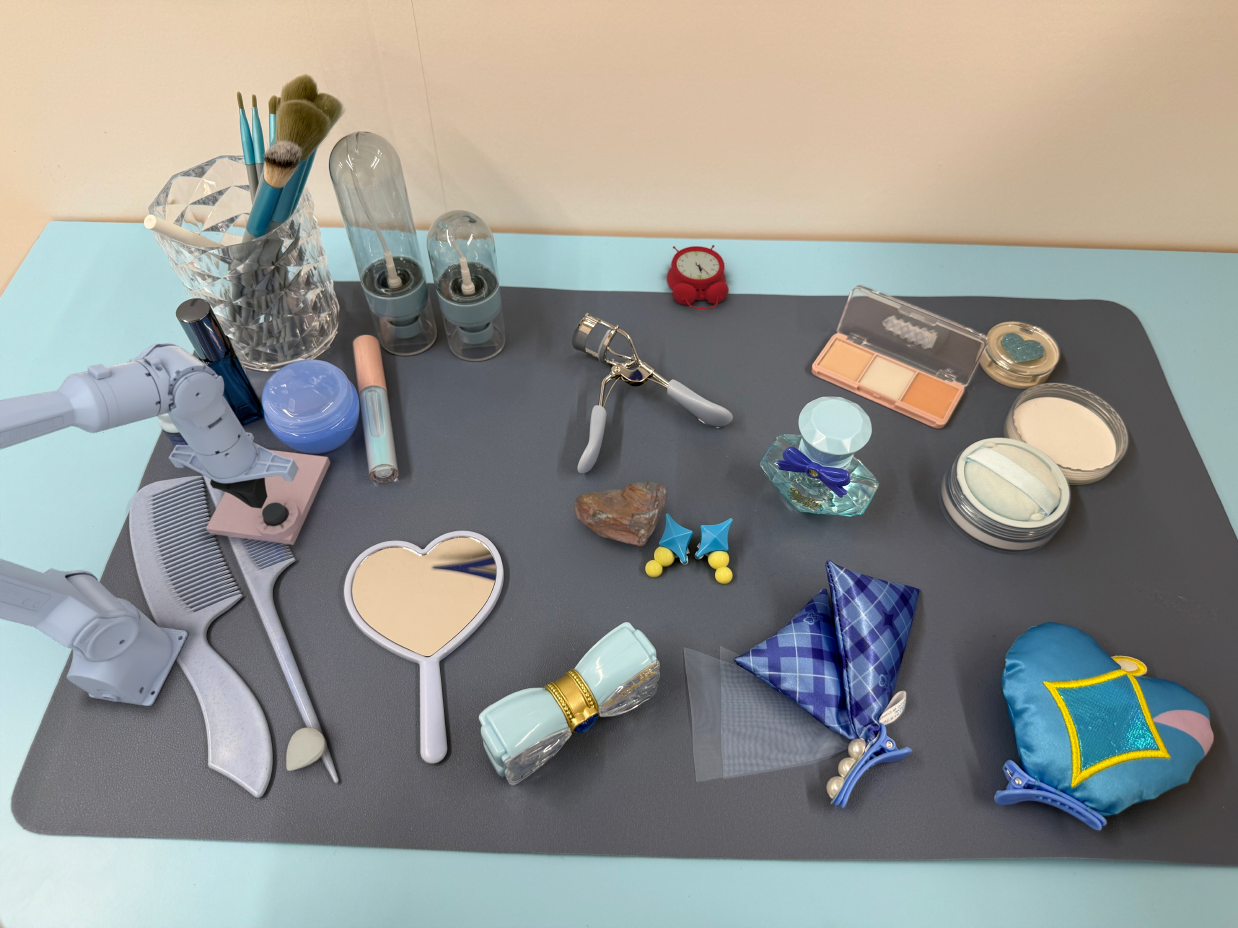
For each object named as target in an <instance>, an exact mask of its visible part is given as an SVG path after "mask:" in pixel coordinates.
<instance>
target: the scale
mask: <svg viewBox="0 0 1238 928" xmlns="http://www.w3.org/2000/svg"><path fill="white" fill-rule="evenodd" d="M269 450H270V451H272V452H274V453H276V454H278V455H280V456H282V457H285V458H289V459H294V461H295V463H296V465H297V466H298V468H299V469H298V471H297V474H296V476H295V477H294V480H293V481H292V482H290V481H285V480H284V478H283V477H282V476H271V477H265V486H266V491H267V496H268V497H267V499H266V501H265V503H264V505H263V507H262V508H261V509H260V508H252V507H250V506H248V505H247V504H245V503H244V502H242V501H241V500H240V499H238V498H236V497H235V496H233V495H231V494H229V493H227V492H225V491H224V493H223V495H222V497H221V499H220V501H219V503H218V505H217V507H216V508H215V511H214V512H213V514H212V516H211V518H210V519H209V521H208V523H207V526H206V527H205V530H206V531H207V532H208V533H209V534H211V535H215V536H216V535H217V536H225V537H231V538H239V539H240V538H241V539H246V540H247V539H248V540H255V541H261V542H269V543H277V544H284V545H291V546H293V545H295V543H296V541H297V538H298V536H299V534H300V532H301V529H302V527H303V526H304V523H305V521H306V519H307V516H308V514H309V512H310V509H311V507H312V505H313V503H314V501H315V498H316V496H317V494H318V491H319V489H320V487H321V486H322V483H323V480H324V479H325V476H326V474H327V471H328V469H329V467H330V465H331V461H330V458H329V457H328V456H323V455H322V456H321V455H314V454H307V453H297V452H291V451H290V452H288V451H282V450H273V449H269ZM274 502H277V503H280V504H282V505H283V507H284V508H285V510H286V511H287V518H286V520H285V521H284V522H283V523H282V524H280V525H276V526H272V525H269V524H268V523H267V522H266V520H265V519H264V517H263V516H262V511H263V509H264V508H265V507H266V506H267V505H268V504H270V503H274Z"/></svg>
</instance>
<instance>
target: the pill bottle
mask: <svg viewBox="0 0 1238 928" xmlns="http://www.w3.org/2000/svg"><path fill="white" fill-rule="evenodd" d="M156 418H157V422H158V425H159V427H160V429H161V430H162V431H163V433H164V434H165V436H166V437H167V438H168V440H169V441H170V442H171V444H172V445H173V447H174V448H175V446H176V445H188V443H187V442H186V441H185V439H184V438H183V436H182V435H181V434H180V432H179V431H178V430H177V428H176V427H175V426H174V424H173V423H172V421H171V418H170V416H169V415H168V413H166V414H163V415H159V416H156Z"/></svg>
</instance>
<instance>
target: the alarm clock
mask: <svg viewBox="0 0 1238 928" xmlns="http://www.w3.org/2000/svg"><path fill="white" fill-rule="evenodd" d="M713 248H715V245H714V244H712V245H711V248H709V247H706V246H700V245H695V246H694V245H693V246H687V247H685V248H682V249H680V250H679V249H677V248H676V246H675V245H673V246H672V249H674V250H675V251H676V253H675V254H674V255H673V257H672V258H671V262H670V264H671V265H670V267H669V268H668V271H667V273H666V283H667V286H668V287H669V288H670V290H671V291H672V297H673V299H674V301H675V302H676V303H677V304H680V305H682V306H689V307H690V308H692V309H695V310H709V309H713V308H715V307H717V305H718V304H720V303H721V302H723V301H724V300H726V298H727V296H728V295H729V286H728V284H727V283H726V282H727V278H726V274H725V269H726V267H725V261H724V259H723V257H722V256H721V255H720V254H719V253H718V252H717V251H715V250H714V249H713ZM705 300H706V301H707V302H708V303H709V304H711V306H708V307H697V306H693V305H692V304H694V303H695V301H705ZM712 304H713V305H712Z"/></svg>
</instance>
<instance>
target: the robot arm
mask: <svg viewBox="0 0 1238 928" xmlns="http://www.w3.org/2000/svg"><path fill="white" fill-rule="evenodd" d="M224 392H225V382H224V378H223V376H222V375H218V374H217V373H216V371H215V370H213V368H211V367H209V366H208V365H207V364H205V363H204V362H203V361H201V360H200V359H198V358H197V357H196V356H194V355H193V354H192V353H190V352H189V351H187V350H186V349H184V348H183V347H181V346H179V345H177V344H174V343H168V342H167V343H166V342H165V343H158V342H156V343H153V344H152V345H149V346H148V347H146V348H145V349H144V350H143V351H141V352H140V354H138V356H136V357H134V358H130V359H129V361H127V362H122V363H118V364H114V365H108V366H106V365H104V364H103V363H97V364H93V365H89V366H87V370H85V371H80V372H75V373H71V374H69V375H67V376H66V377H65V378H64V380H63V381H62V383H61V385H60V386H59V388H58V389H57V390H51V391H46V392H45V391H44V392H39V393H33V394H28V395H20V396H15V397H10V398H2V399H0V450H3V449H6V448H11V447H13V446H16V445H19V444H22V443H25V442H28V441H32V440H34V439H38V438H41V437H43V436H46V435H50V434H52V433H55V432H58V431H61V430H64V429H68V428H69V427H75V428H78V429H80V430H83V431H84V432H86V433H90V434H98V433H100V432H104V431H108V430H111V429H115V428H119V427H123V426H127V425H130V424H133V423H138V422H141V421H145V420H147V419H152V418H155V417H157V416H159V415H163V414H166V413H168V415H169V416H170V418H171V421H172V423H173V424H174V426H175V427H176V428H177V430H178V431H179V432H180V434H181V435H182V436H183V438H184V439H185V441H186V442H187V443H188V445H176V446H175V447H174V448H173V450H172V451H171V453H170V455H169V456H168V459H169V461H170V462H171V463H172V465H173V466H174V468H178V469H184V468H185V467H187V468H189V469H191V470H193V471H195V472H196V473H199V474H201V475H203V476H204V477H206V478H208V479H210V482H209V483H210V484H209V485H210V486H211V488H212V489H215V490H219V491H222V492H224V493H225V492H227V493H229V494H231V495H233V496H235V497H236V498H238V499H240V500H241V501H242V502H244V503H245V504H247V505H248V506H250V507H252V508H260V509H261V508H262V507H263V505H264V503H265V501H266V499H267V497H268V496H267V491H266V486H265V477H271V476H282V477H283V478H284V480H285V481H290V482H292V481H293V480H294V477H295V476H296V474H297V471H298V469H299V468H298V466H297V465H296V463H295V461H294V459H289V458H285V457H282V456H280V455H278V454H276V453H274V452H272V451H270V450H271V449H268V448H266V447H264V446H262V445H259V443H258V444H257V443H256V442H254V439H255V437H254V435H253V433H251V432H247V431H246V430H245V429H244V427H243V425H242V424H241V422H240V421H239V419H238V417H237V416H236V414H235V412H234V411H233V409H232V407H231V406H230V404H229V403H228V401H227V399H226V398H225V396H224ZM0 619H1V620H4V621H8V622H12V623H17V624H19V625H24V626H28V627H31V628H35V629H36V630H38V631H39V632H41V633H43V634H44V635H46V636H47V637H49V638H50V639H52V640H54V642H56V643H58V644H60V645H61V646H63V647H64V648H66V649H71V650H72V661H71V663H70V668H69V670H68V672H67V674H66V679H67V680H68V681H69V682H70V683H71V684H73V685H75V686H76V687H78V688H80V689H81V690H83V691H84V692H86V693H88V696H89V697H90V698H92V699H97V700H98V699H99V700H103V701H104V700H105V701H110V702H114V703H115V702H116V703H117V702H118V703H123V704H129V705H130V704H131V705H137V706H145V707H151V706H152V705H154V703H155V701H156V699H157V698H158V696H159V694H160V692H161V689H162V687H163V685H164V683H165V681H166V680H167V678H168V675H169V674H170V671H171V670H172V668H173V666H174V664H175V661H176V659H177V657H178V656H179V653H180V651H181V650H182V647H183V646H184V643H185V641H186V640H187V637H188V635H189V634H188V632H187V631H186V630H183V629H175V628H168V627H160V626H158V625H157V624H156V623H154V622H153V621H152V620H151V619H150V617H149V618H148V616H147V615H145V613H143V612H142V611H141V610H140V609H139V608H138V607H136V606H135V605H134V604H133V603H132V602H130V601H129V600H127V599H124V598H120V597H115V596H114V595H113V594H112V592H110V590H108V589H107V588H106V587H105V586H104V584H102V583H101V582H100V581H99V578H98V577H96V575H95V574H94V573H92V572H90V571H88V570H84V569H76V570H75V569H74V570H59V569H56V568H53V567H52V568H51V567H50V568H49V569H47V570H45V571H44V572H42V571H40V570H39V571H38V570H35V569H33V568H30V567H27V566H23V565H21V564H18V563H15V562H12V561H9V560H7V559H3V558H0Z"/></svg>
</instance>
